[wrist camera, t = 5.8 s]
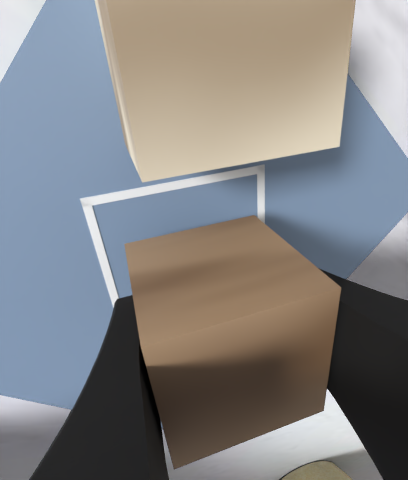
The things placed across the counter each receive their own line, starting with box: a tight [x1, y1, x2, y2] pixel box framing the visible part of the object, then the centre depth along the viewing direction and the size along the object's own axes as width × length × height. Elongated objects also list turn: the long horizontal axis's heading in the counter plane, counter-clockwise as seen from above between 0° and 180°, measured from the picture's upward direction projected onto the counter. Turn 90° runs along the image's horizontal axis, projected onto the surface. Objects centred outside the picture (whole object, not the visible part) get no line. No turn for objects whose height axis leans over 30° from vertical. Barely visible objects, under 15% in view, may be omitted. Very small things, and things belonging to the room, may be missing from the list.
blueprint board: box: [0, 0, 408, 428], centre depth 13 cm, size 18×16×1 cm
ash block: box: [95, 0, 356, 182], centre depth 7 cm, size 4×4×4 cm
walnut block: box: [124, 215, 341, 469], centre depth 9 cm, size 4×4×4 cm
